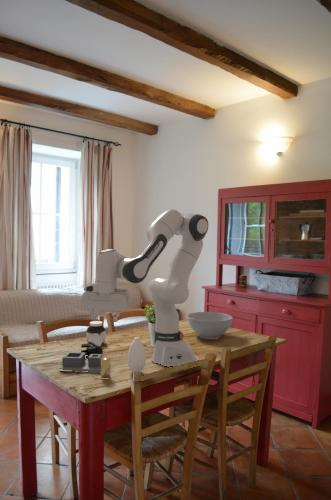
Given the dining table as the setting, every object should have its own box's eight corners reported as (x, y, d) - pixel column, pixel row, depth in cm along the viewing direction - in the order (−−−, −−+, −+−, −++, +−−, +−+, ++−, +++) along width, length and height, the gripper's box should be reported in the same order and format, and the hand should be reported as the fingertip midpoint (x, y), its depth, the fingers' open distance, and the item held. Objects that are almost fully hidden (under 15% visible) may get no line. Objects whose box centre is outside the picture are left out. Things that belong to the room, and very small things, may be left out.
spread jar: (99, 340, 217) (99, 319, 216) (111, 344, 209) (111, 323, 208) (80, 344, 208) (81, 323, 208) (92, 349, 200) (93, 326, 200)
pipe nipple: (111, 376, 163) (111, 357, 163) (109, 379, 159) (109, 360, 159) (101, 375, 163) (102, 357, 163) (99, 379, 159) (99, 360, 159)
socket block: (106, 363, 178) (107, 352, 178) (101, 373, 166) (101, 360, 166) (68, 362, 179) (68, 350, 179) (59, 371, 167) (59, 358, 167)
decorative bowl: (179, 333, 237) (179, 313, 236) (216, 329, 248) (216, 310, 248) (201, 344, 212) (201, 322, 212) (241, 340, 224) (242, 319, 223)
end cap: (102, 359, 184) (103, 345, 184) (88, 362, 180) (89, 347, 180) (94, 354, 193) (94, 340, 192) (80, 356, 189) (80, 342, 189)
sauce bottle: (145, 369, 171) (146, 329, 171) (145, 376, 164) (146, 334, 163) (127, 369, 171) (128, 329, 170) (126, 376, 163) (127, 333, 163)
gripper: (131, 288, 164) (130, 321, 164) (86, 285, 168) (84, 317, 168) (127, 290, 158) (126, 324, 158) (80, 287, 162) (78, 320, 162)
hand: (104, 320), depth 163 cm, fingers open, 8 cm apart
